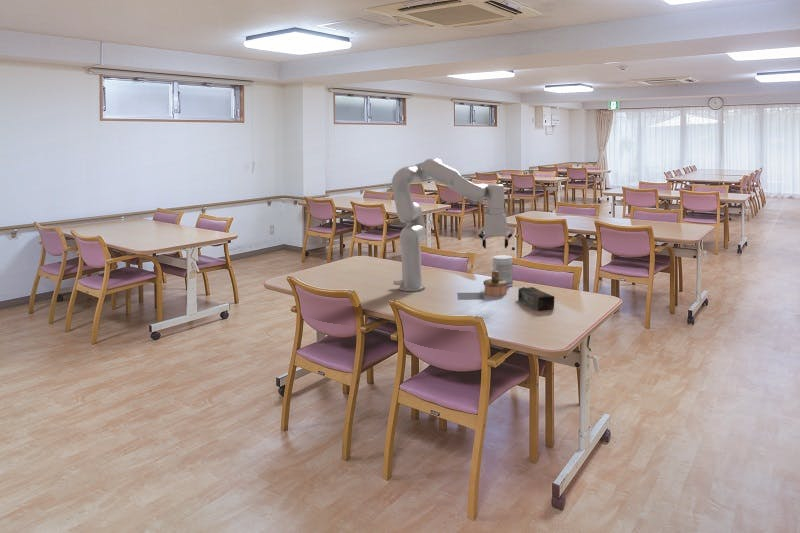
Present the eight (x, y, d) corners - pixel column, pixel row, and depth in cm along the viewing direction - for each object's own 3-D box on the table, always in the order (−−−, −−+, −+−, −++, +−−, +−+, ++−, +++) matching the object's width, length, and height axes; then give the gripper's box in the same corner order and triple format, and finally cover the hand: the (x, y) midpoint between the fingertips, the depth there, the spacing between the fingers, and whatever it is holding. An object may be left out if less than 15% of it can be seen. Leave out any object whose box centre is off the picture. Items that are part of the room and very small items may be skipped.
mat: (457, 300, 276) (457, 299, 276) (457, 293, 288) (457, 292, 288) (484, 300, 276) (484, 299, 275) (482, 293, 287) (482, 292, 287)
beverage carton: (533, 299, 277) (533, 285, 275) (555, 310, 259) (555, 295, 257) (517, 300, 275) (517, 286, 273) (538, 312, 257) (538, 297, 255)
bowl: (485, 297, 281) (485, 286, 280) (484, 291, 291) (484, 281, 290) (507, 296, 281) (507, 286, 280) (505, 291, 290) (505, 281, 289)
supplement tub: (516, 286, 300) (516, 256, 296) (502, 289, 295) (502, 259, 291) (503, 282, 308) (503, 254, 304) (488, 285, 303) (489, 256, 299)
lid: (484, 286, 280) (484, 274, 278) (482, 281, 290) (482, 269, 289) (508, 286, 279) (508, 274, 278) (505, 280, 290) (506, 268, 288)
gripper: (477, 212, 274) (476, 249, 278) (515, 212, 273) (514, 249, 277) (476, 210, 282) (476, 246, 285) (513, 210, 281) (513, 246, 284)
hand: (495, 247), depth 281 cm, fingers open, 9 cm apart
